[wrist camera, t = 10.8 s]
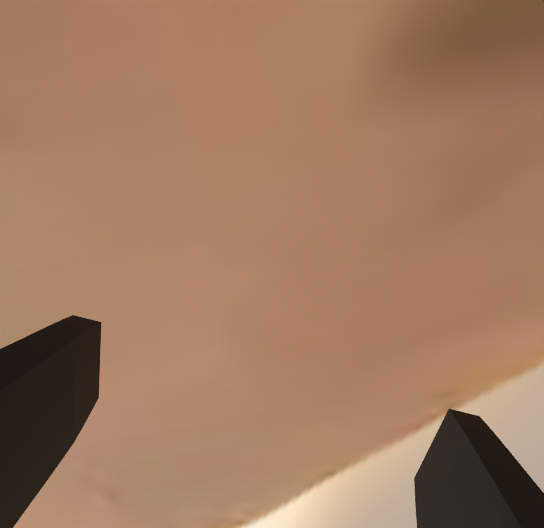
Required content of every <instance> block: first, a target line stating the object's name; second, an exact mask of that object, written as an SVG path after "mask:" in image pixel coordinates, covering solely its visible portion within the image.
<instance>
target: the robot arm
mask: <svg viewBox="0 0 544 528" xmlns="http://www.w3.org/2000/svg"><path fill="white" fill-rule="evenodd" d="M100 342H101V322H98V321H94V320H90V319H86V318H82V317H78V316H74V315H72V316H70V317H68V318H65V319H63V320H61V321H58V322H56V323H54V324H52V325H50V326H48V327H46V328H44V329H41V330H39V331H37V332H35V333H33V334H31V335H29V336H27V337H25V338H23V339H21V340H19V341H16V342H14V343H12V344H10V345H8V346H6V347H4V348H2V349H0V528H13V527H14V525H15V524H16V523H17V521H18V520H19V518H20V517H21V516H22V514H23V513H24V511H25V510H26V509H27V507H28V506H29V505H30V503H31V502H32V500H33V499H34V498H35V496H36V495H37V494H38V492H39V491H40V489H41V488H42V487H43V485H44V484H45V482H46V481H47V480H48V478H49V477H50V475H51V474H52V473H53V471H54V470H55V468H56V467H57V466H58V464H59V463H60V461H61V460H62V459H63V457H64V456H65V454H66V453H67V452H68V450H69V449H70V447H71V446H72V444H73V443H74V441H75V440H76V438H77V436H78V434H79V433H80V431H81V429H82V427H83V426H84V424H85V422H86V420H87V418H88V416H89V415H90V413H91V411H92V409H93V407H94V405H95V403H96V402H97V400H98V398H99V371H100ZM414 481H415V502H416V516H417V528H544V493H543V492H542V491H541V490H540V488H539V487H538V486H537V485H536V483H535V482H534V481H533V480H532V479H531V477H530V476H529V475H528V474H527V472H526V471H525V470H524V469H523V467H522V466H521V465H520V464H519V463H518V461H517V460H516V459H515V458H514V456H513V455H512V454H511V453H510V452H509V450H508V449H507V448H506V447H505V446H504V444H503V443H502V442H501V441H500V439H499V438H498V437H497V436H496V435H495V434H494V432H493V431H492V430H491V429H490V428H489V426H488V425H487V424H486V423H485V422H484V421H483V420H482V419H481V418H480V417H479V416H476V415H472V414H468V413H464V412H460V411H456V410H452V409H449V410H448V412H447V414H446V416H445V418H444V420H443V422H442V424H441V426H440V428H439V430H438V432H437V434H436V436H435V438H434V440H433V442H432V444H431V446H430V448H429V450H428V452H427V454H426V456H425V458H424V460H423V462H422V464H421V466H420V468H419V470H418V472H417V474H416V476H415V478H414Z"/></svg>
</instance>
